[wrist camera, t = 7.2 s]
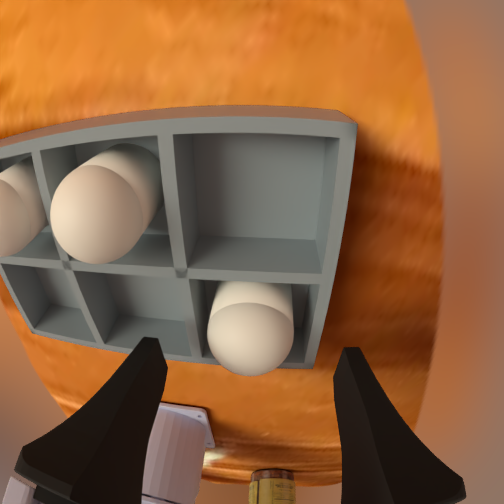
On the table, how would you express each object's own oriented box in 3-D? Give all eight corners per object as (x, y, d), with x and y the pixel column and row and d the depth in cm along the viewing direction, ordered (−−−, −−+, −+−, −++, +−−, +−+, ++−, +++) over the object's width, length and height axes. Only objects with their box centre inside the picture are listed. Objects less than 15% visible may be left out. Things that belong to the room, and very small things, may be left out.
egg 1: (71, 220, 13) (18, 276, 10) (25, 221, 14) (-26, 270, 10) (55, 151, 11) (-13, 193, 8) (8, 160, 12) (-53, 200, 8)
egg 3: (288, 317, 16) (290, 393, 12) (220, 314, 16) (205, 388, 12) (294, 261, 14) (300, 340, 10) (214, 258, 14) (194, 334, 10)
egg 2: (171, 220, 13) (133, 289, 9) (101, 220, 13) (50, 280, 9) (163, 139, 11) (108, 182, 7) (87, 147, 11) (19, 190, 7)
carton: (308, 325, 17) (312, 368, 15) (52, 302, 18) (32, 333, 15) (338, 110, 11) (357, 123, 8) (-1, 139, 11) (-38, 159, 9)
